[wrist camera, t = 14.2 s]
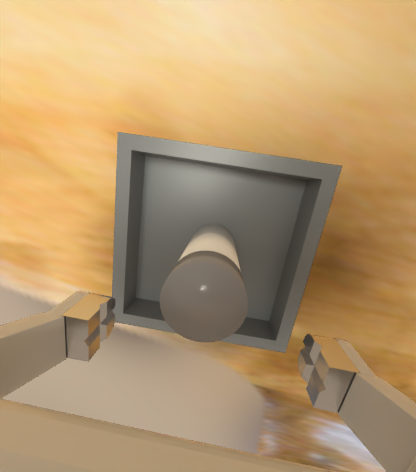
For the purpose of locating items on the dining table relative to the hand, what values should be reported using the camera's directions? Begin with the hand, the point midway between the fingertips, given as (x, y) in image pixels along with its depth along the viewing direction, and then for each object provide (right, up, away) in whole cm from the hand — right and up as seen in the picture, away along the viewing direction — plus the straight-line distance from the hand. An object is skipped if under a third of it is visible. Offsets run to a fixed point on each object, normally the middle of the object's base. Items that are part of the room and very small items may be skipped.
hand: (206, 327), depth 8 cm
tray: (+1, +3, +14) cm, 14 cm away
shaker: (+1, +3, +13) cm, 13 cm away
